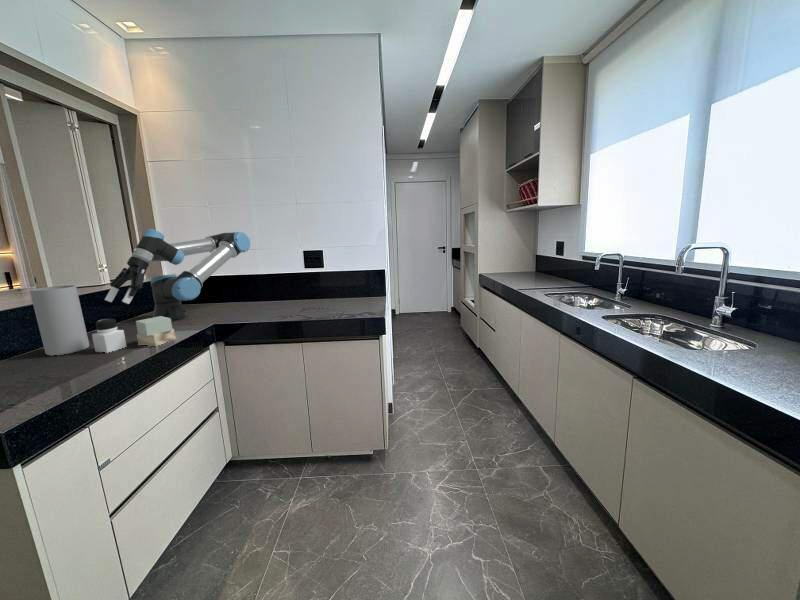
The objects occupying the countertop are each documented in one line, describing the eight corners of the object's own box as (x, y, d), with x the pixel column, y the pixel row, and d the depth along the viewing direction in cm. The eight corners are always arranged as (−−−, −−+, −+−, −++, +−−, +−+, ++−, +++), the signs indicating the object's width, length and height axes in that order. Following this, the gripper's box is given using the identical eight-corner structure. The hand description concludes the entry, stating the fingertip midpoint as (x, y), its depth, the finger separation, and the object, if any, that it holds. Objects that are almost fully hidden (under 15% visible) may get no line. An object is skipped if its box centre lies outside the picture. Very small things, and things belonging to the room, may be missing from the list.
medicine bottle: (127, 347, 136) (121, 317, 133) (107, 353, 129) (100, 322, 127) (115, 346, 138) (109, 317, 136) (95, 352, 132) (88, 321, 129)
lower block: (159, 339, 146) (157, 328, 145) (176, 340, 143) (174, 328, 143) (138, 346, 137) (136, 334, 136) (155, 347, 135) (153, 335, 134)
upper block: (162, 327, 146) (160, 316, 145) (172, 330, 141) (170, 318, 140) (137, 333, 138) (135, 321, 137) (147, 335, 133) (145, 323, 132)
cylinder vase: (95, 348, 136) (81, 286, 132) (52, 358, 126) (35, 291, 121) (82, 344, 143) (69, 284, 138) (41, 353, 132) (24, 289, 127)
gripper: (116, 255, 160) (91, 296, 152) (148, 255, 150) (123, 299, 142) (132, 263, 166) (109, 303, 159) (164, 264, 156) (141, 307, 148)
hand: (116, 301), depth 150 cm, fingers open, 13 cm apart
